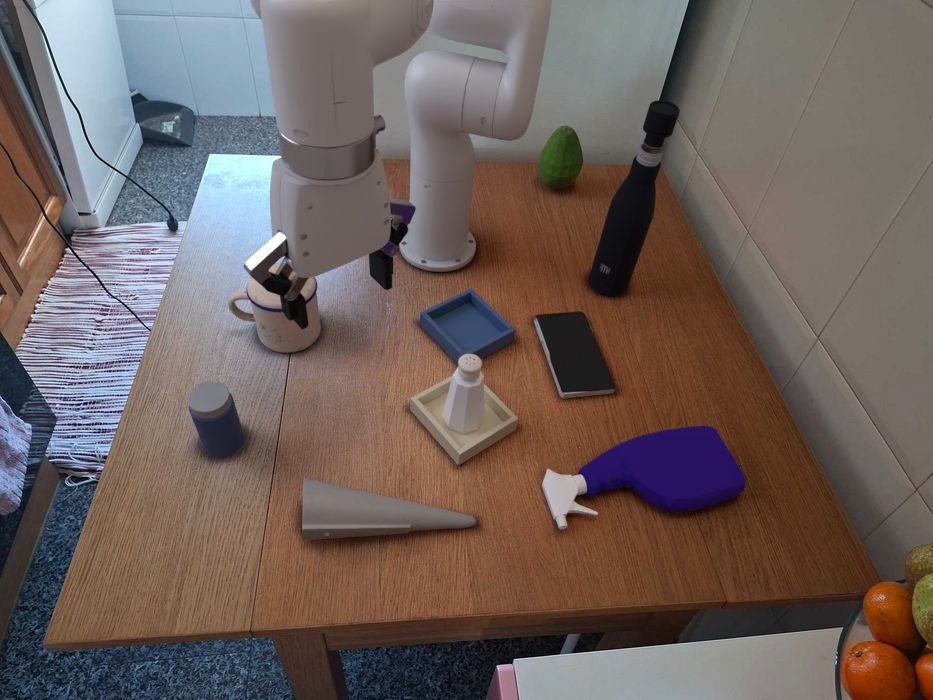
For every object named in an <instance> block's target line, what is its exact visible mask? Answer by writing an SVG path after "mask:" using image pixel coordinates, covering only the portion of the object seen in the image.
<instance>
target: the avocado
mask: <svg viewBox="0 0 933 700" xmlns="http://www.w3.org/2000/svg"><path fill="white" fill-rule="evenodd" d="M583 156H584V155H583V148H582V145H581V142H580V138H579V136H578V134H577V132H576V131H575V130H574V128H573V127H571V126H569V125H562V126H559V127H558V128H556V129H555V130H554V131H553V132H552V134H551V135H550V137H548V140H547V141H546V142H545V144H544V146H543V148H542V149H541V152H540V154H539V159H538V173H539V175H540V179H541V180H542V182H543V184H544V185H546V186H547V187H549V188H553V189H563V188H565V187H568V186H569V185H572V184H573V183H574V182H575V181H576V180H577V178H578V177H579V175H580V173H581V171H582V168H583V164H584V157H583Z"/></svg>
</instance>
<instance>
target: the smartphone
mask: <svg viewBox="0 0 933 700" xmlns="http://www.w3.org/2000/svg"><path fill="white" fill-rule="evenodd" d="M533 323H534V326H535V330H536V333H537V336H538V338H539V341H540V344H541V346H542V349H543V352H544V354H545V357H546V361H547V363H548V365H549V368H550V371H551V374H552V377H553V379H554V383H555V385H556V388H557V391H558V394H559V396H560V398H562V399H572V398H574V399H575V398H581V397H590V396H601V395H610V394H611V395H612V394H614V392H615V390H616V383H615V381H614V379H613V377H612V374H611V372H610V369H609V366H608V365H607V362H606V360H605V358H604V356H603V354H602V352H601V349H600V346H599V345H598V342H597V340H596V337H595V335H594V332H593V329H592V327H591V325H590V323H589V321H588V318H587V316H586V314H585V312H583V311H580V310H579V311H565V312H554V313H543V314H542V313H541V314H535V317H534V320H533Z"/></svg>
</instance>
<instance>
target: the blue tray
mask: <svg viewBox="0 0 933 700" xmlns="http://www.w3.org/2000/svg"><path fill="white" fill-rule="evenodd" d="M419 326H420V327H421V328H422V329H423V330H424V331H425V332H426V333H427V334H428V335H429V336H430V337H431V338H432V339H433V340H434V341H435V342H436V343H437V344H438V345H439V346H440V348H442V350H444V352H446V353H447V355H449V357H451V359H453V361H454V362H456V364H458V360H459V358H460V357H461V356H463V355H465V354H474V355H477V356H478V357H479V358H480V359H481V360H482V359H484V358H486V357H488V356H490V355H491V354H493V353H495V352H497V351H498V350H501V349H502V348H505V347H506V346H508V345H510V344H512V343H513V342H514V341H515V337H516V330H517V329H516V328H515V327H514V326H512V325H511V324H510V323H509V322H508V321H507V320H506V319H505V318H504V317H503V316H502V315H500V313H498V312H497V310H495V309H494V308H493V307H492V306H491V305H489V303H487V302H486V301H485V300H484V299H483V298H482V297H481V296H480V295H479V294H477V292H476V291H474V290H473V289H472V288H469V289H467V290H464V291H462V292H461V293H459V294H456V295H454V296H452V297H450V298H447V299H446V300H444V301H442V302H439V303H437V304H435V305H433V306H431V307H429V308H427V309H424V310H422V311H421V312H419Z"/></svg>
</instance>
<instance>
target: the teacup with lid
mask: <svg viewBox="0 0 933 700" xmlns="http://www.w3.org/2000/svg"><path fill="white" fill-rule="evenodd" d="M281 262H282V261H280V262H276V263H275V264H274V265H273V266H272V267H271V268H270V269H269V272H272V273H276V271H277V269H278V268H279V266H280V264H281ZM295 273H296V272H295V271H294V270H293V271H292V273H291V275H290V276H289V278H288V279H290V280H292V278H293V276H294V275H295ZM317 292H318V281H317V279H316V276H314V277H310V278H309V279H308V280H307V282H306V284H305V285H304V287H303V289H302V290H301V292H300V293H301V294H302V295H303V296H304V298H305V301H306V309H307V316H308V323H309V325H308V326H307V328H305V329H303V330H302V329H301V328H300V327H299V326H298V325H297V324H296V322H295V321H294V320H291V321H289V320H288V319H287V318H286V317H285V315H284V313H283V311H282V306H281V300H280V295H277V294H274V293H271V292H268V291H267V290H266V289H265V288H264V287H263V286H262V285H260V284H259V283H258V282H257V281H256V280H255V279H253V278H252V277H251V276H250V277H249V279H248V281H247V285H246V290H244V291H243V290H242V291H241V290H240V291H236V292H233V293H232V294H231V295H230V296H229V298H228V301H227V305H228V309H229V311H230V312H231V313H232V314H233V315H234V317H236V318H237V319H240V320H241V321H245V322H251V323H253V322H254V323H255V328H256V332H257V335H258V338H259V341H260V342H261V343H262V345H264V346H265V347H266V348H268V349H269V350H272V351H274V352H278V353H285V354H286V353H287V354H288V353H295V352H300V351H302V350H305V349H307V348H309V347H310V346H311V345H313V344H314V343H315V342H316V341H317V339H318V338H319V336H320V334H321V329H322V327H321V318H320V309H319V301H318V295H317V294H318V293H317ZM241 300H245V301H246V300H247V301H249V302H250V305H251V310H252V313H251V312H246V311H243V310H242V309H240V308H239V307H238V305H236V302H237V301H241Z"/></svg>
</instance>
